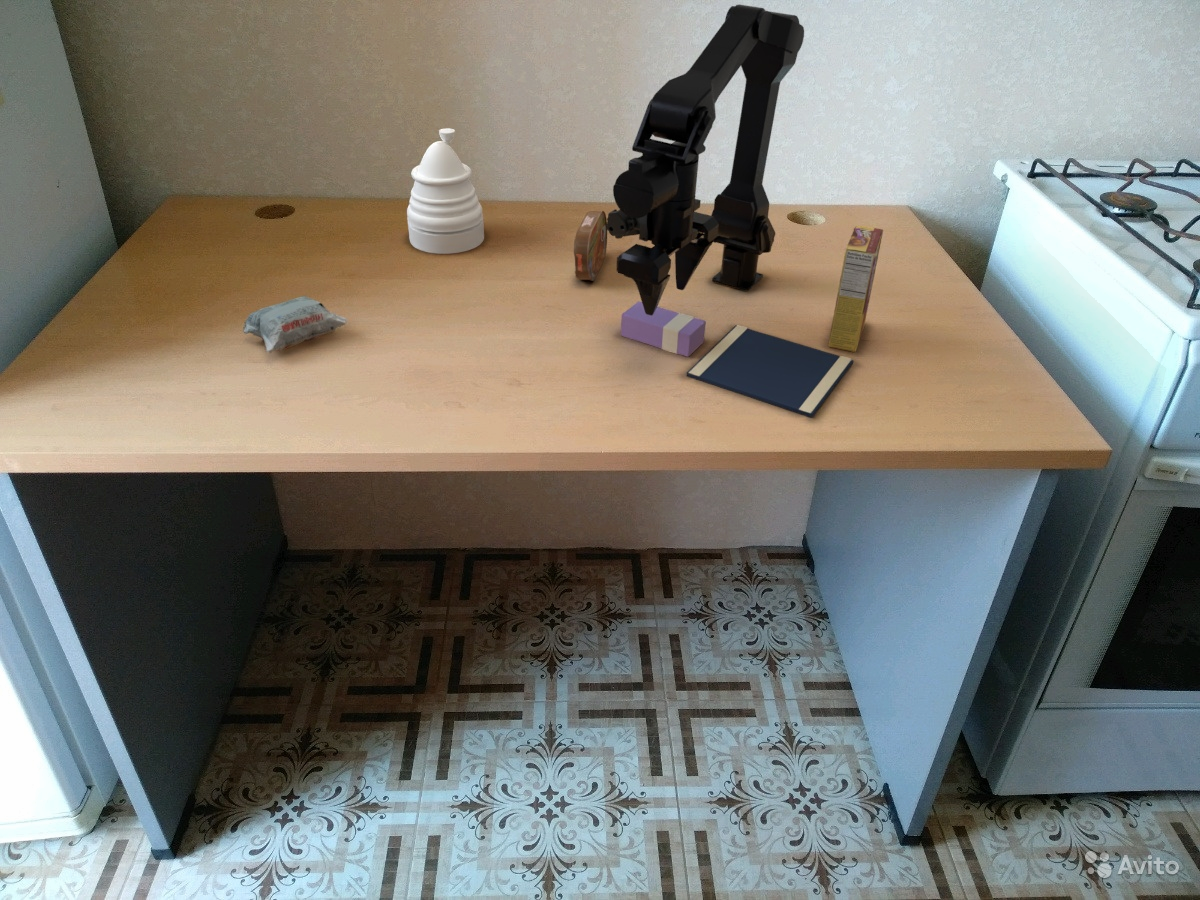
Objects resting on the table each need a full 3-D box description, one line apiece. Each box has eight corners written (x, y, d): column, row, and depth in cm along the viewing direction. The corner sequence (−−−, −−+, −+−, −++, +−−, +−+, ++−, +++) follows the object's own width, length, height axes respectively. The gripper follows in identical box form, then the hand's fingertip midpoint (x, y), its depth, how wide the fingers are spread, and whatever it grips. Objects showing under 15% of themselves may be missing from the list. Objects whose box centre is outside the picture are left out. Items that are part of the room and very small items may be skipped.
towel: (735, 328, 131) (736, 324, 131) (852, 363, 124) (853, 359, 123) (686, 376, 120) (686, 371, 120) (812, 418, 113) (812, 413, 112)
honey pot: (445, 218, 162) (437, 116, 151) (499, 236, 156) (494, 132, 145) (393, 240, 153) (381, 135, 142) (448, 260, 147) (439, 152, 136)
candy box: (835, 319, 134) (855, 223, 125) (864, 325, 133) (886, 228, 124) (825, 347, 127) (845, 247, 118) (855, 353, 126) (878, 253, 117)
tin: (590, 289, 140) (591, 239, 135) (570, 287, 141) (570, 237, 136) (608, 251, 152) (610, 203, 147) (590, 249, 152) (591, 201, 147)
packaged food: (349, 336, 126) (343, 305, 123) (270, 364, 120) (262, 332, 117) (320, 315, 131) (314, 284, 128) (243, 340, 125) (235, 309, 122)
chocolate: (637, 322, 132) (638, 300, 130) (704, 342, 128) (706, 320, 125) (620, 336, 129) (621, 314, 126) (687, 357, 124) (690, 335, 122)
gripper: (653, 161, 125) (647, 263, 134) (582, 202, 112) (581, 312, 121) (725, 177, 120) (713, 282, 130) (660, 222, 107) (652, 335, 117)
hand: (665, 301), depth 124 cm, fingers open, 9 cm apart
